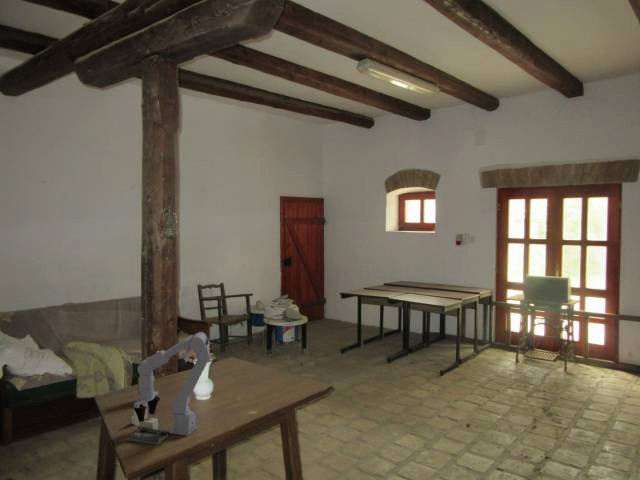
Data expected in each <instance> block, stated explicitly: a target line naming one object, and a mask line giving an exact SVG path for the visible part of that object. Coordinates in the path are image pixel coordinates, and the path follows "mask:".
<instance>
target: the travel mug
mask: <svg viewBox="0 0 640 480" xmlns="http://www.w3.org/2000/svg"><path fill="white" fill-rule="evenodd" d="M152 371H153V392H154V391H156V390H155V389H156V388H155V387H156V384H155V383H156V381H155V380H156V379H155V369H153V370H152ZM139 378H140V377H139V373H138V372H137V397H138V396H140V390H139ZM147 405H148V402H147Z"/></svg>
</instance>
